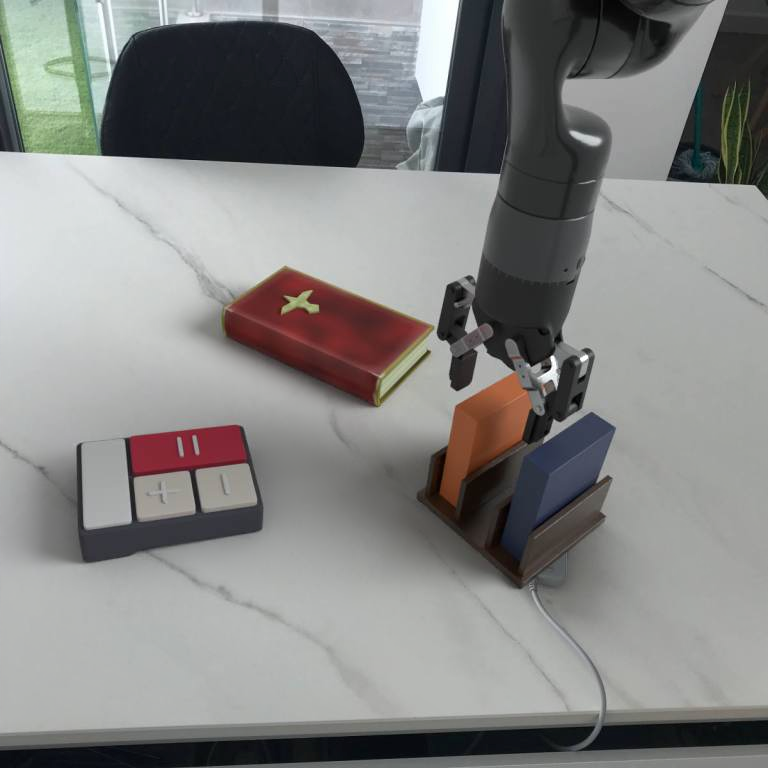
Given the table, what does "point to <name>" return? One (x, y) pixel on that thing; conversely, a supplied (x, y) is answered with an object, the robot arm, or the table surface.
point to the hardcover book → (329, 333)
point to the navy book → (555, 478)
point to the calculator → (165, 490)
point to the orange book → (484, 431)
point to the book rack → (491, 507)
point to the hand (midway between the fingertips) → (495, 411)
